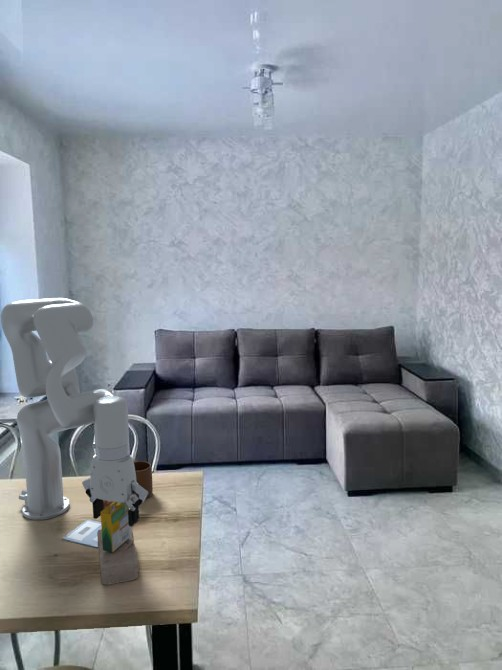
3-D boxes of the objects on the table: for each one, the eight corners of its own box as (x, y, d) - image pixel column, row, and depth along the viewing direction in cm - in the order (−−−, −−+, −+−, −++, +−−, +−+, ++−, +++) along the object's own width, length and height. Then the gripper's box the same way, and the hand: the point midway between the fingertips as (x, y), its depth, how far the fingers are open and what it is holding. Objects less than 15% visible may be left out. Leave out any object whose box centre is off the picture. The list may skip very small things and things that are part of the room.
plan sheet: (62, 539, 130) (62, 538, 130) (87, 520, 139) (87, 519, 139) (108, 550, 125) (108, 549, 125) (131, 529, 135) (131, 528, 134)
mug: (121, 486, 159) (120, 458, 158) (145, 481, 162) (144, 454, 161) (130, 503, 149) (128, 473, 147) (155, 498, 152) (154, 468, 150)
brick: (140, 578, 114) (139, 559, 114) (101, 586, 112) (100, 567, 111) (131, 539, 130) (131, 522, 129) (97, 545, 127) (96, 527, 126)
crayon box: (120, 533, 124) (119, 489, 122) (131, 536, 123) (129, 491, 121) (101, 550, 117) (99, 503, 115) (112, 553, 116) (110, 506, 114)
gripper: (70, 451, 116) (75, 521, 119) (135, 462, 110) (138, 535, 113) (91, 440, 123) (95, 506, 125) (154, 449, 117) (156, 518, 120)
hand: (116, 519), depth 119 cm, fingers open, 9 cm apart
